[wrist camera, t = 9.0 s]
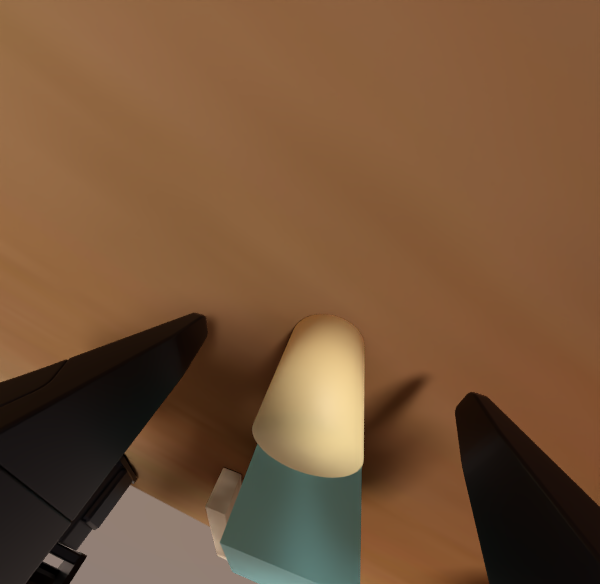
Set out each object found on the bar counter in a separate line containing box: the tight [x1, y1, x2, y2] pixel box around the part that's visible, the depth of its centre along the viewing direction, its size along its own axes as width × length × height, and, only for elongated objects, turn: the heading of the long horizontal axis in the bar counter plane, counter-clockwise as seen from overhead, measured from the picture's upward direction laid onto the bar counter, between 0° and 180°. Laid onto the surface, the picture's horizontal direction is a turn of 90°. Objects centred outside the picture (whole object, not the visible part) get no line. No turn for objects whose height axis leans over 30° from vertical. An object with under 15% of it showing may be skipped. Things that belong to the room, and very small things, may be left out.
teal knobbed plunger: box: [220, 314, 365, 584], centre depth 11 cm, size 6×16×5 cm, turn 176°
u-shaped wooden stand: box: [205, 468, 241, 560], centre depth 21 cm, size 11×16×2 cm
